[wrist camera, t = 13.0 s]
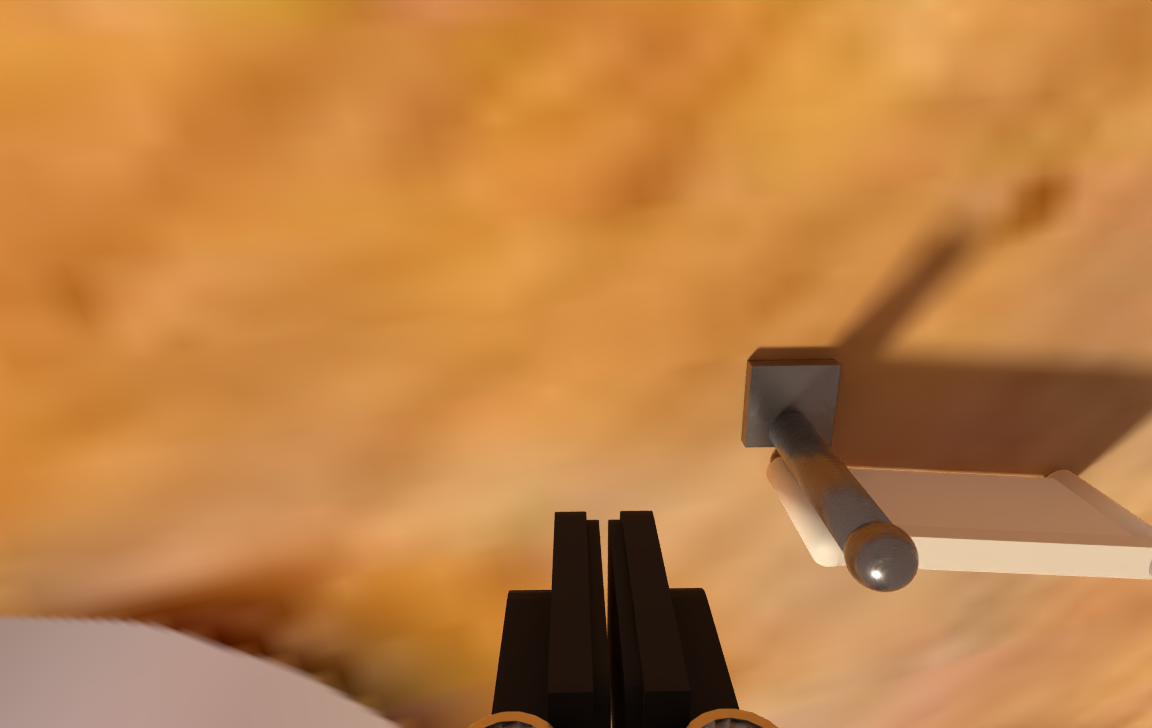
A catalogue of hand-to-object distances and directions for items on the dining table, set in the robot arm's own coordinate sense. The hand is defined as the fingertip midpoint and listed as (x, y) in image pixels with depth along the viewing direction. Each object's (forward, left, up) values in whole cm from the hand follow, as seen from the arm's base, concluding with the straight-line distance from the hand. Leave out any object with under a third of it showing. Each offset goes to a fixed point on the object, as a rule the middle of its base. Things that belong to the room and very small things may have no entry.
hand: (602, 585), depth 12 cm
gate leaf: (-20, +13, -27) cm, 36 cm away
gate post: (-12, +8, -27) cm, 31 cm away
